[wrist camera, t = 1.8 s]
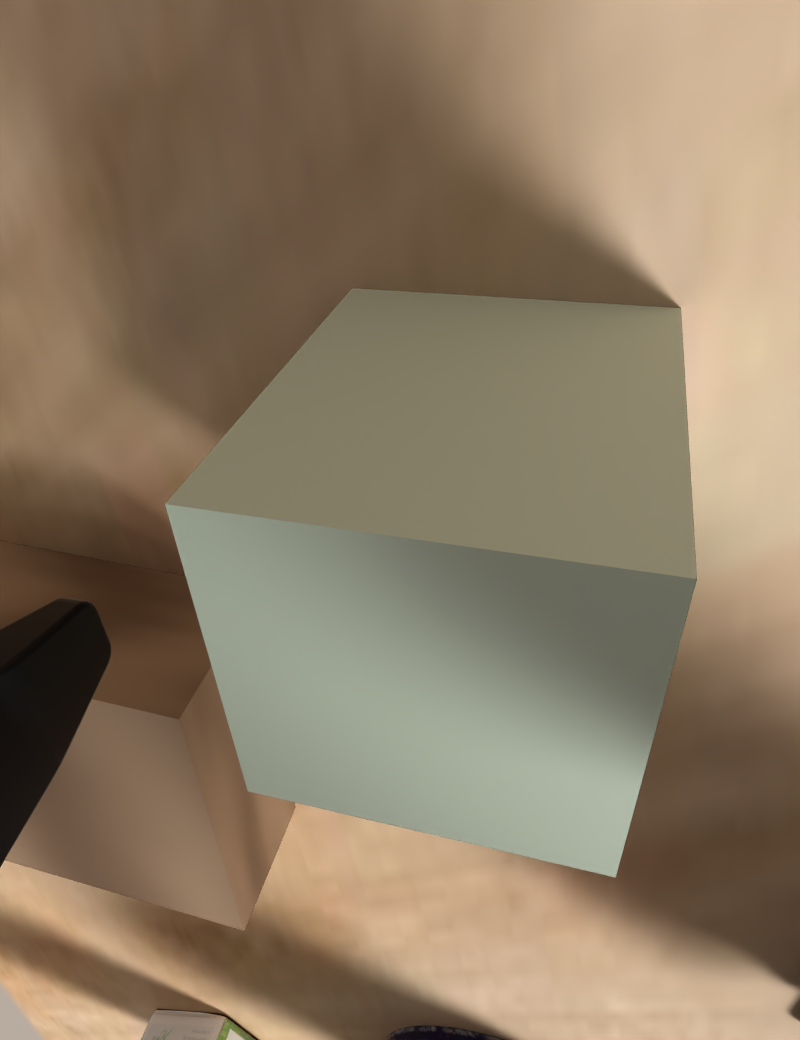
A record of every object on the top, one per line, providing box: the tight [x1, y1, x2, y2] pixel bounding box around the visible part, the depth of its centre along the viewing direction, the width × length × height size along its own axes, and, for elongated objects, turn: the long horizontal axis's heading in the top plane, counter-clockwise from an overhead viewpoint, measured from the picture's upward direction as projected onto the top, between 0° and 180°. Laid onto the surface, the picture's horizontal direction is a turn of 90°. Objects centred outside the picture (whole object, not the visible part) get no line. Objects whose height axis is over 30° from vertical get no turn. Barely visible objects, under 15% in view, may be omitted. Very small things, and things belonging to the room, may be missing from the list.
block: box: [0, 541, 295, 931], centre depth 19 cm, size 9×9×4 cm
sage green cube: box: [165, 288, 697, 878], centre depth 11 cm, size 5×5×6 cm
